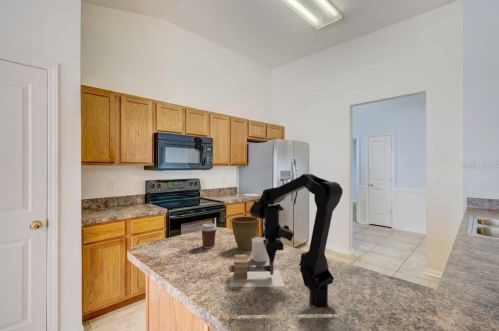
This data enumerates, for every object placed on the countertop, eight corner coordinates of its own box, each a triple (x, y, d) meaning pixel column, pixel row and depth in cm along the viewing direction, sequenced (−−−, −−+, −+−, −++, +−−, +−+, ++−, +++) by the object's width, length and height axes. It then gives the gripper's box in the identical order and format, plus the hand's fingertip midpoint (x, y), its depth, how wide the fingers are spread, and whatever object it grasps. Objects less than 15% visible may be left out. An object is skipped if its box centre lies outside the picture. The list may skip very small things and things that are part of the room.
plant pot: (259, 244, 135) (259, 216, 135) (256, 253, 120) (256, 222, 120) (234, 243, 137) (234, 215, 137) (228, 252, 122) (228, 221, 123)
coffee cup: (198, 245, 133) (198, 224, 133) (213, 243, 137) (213, 222, 137) (203, 250, 125) (203, 227, 125) (219, 247, 129) (219, 225, 129)
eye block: (247, 282, 88) (247, 262, 88) (233, 282, 87) (234, 262, 88) (246, 273, 96) (247, 254, 96) (234, 273, 95) (234, 254, 96)
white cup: (248, 262, 109) (248, 240, 109) (256, 256, 116) (256, 236, 116) (264, 265, 105) (264, 243, 106) (270, 259, 112) (271, 238, 113)
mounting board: (284, 288, 85) (284, 286, 85) (229, 289, 84) (229, 286, 84) (278, 271, 99) (278, 269, 99) (231, 272, 98) (231, 270, 98)
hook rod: (274, 277, 90) (274, 254, 90) (228, 277, 89) (228, 254, 89) (272, 271, 94) (273, 250, 94) (229, 272, 94) (229, 250, 94)
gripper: (297, 226, 83) (297, 271, 83) (287, 216, 102) (287, 252, 102) (266, 226, 83) (266, 271, 83) (261, 216, 101) (261, 252, 101)
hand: (271, 261), depth 92 cm, fingers closed on hook rod, 2 cm apart
